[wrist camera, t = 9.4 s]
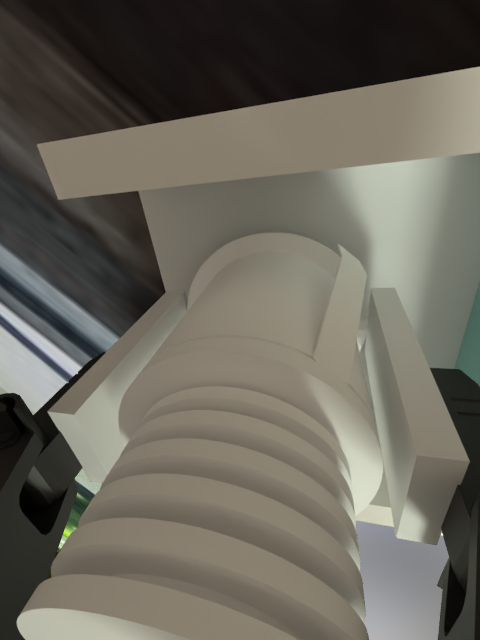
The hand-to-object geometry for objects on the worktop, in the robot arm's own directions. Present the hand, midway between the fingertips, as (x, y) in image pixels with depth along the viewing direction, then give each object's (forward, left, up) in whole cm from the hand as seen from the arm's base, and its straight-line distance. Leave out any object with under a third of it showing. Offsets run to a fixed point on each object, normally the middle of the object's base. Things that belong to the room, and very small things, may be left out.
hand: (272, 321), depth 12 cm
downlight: (0, 0, 0) cm, 0 cm away
